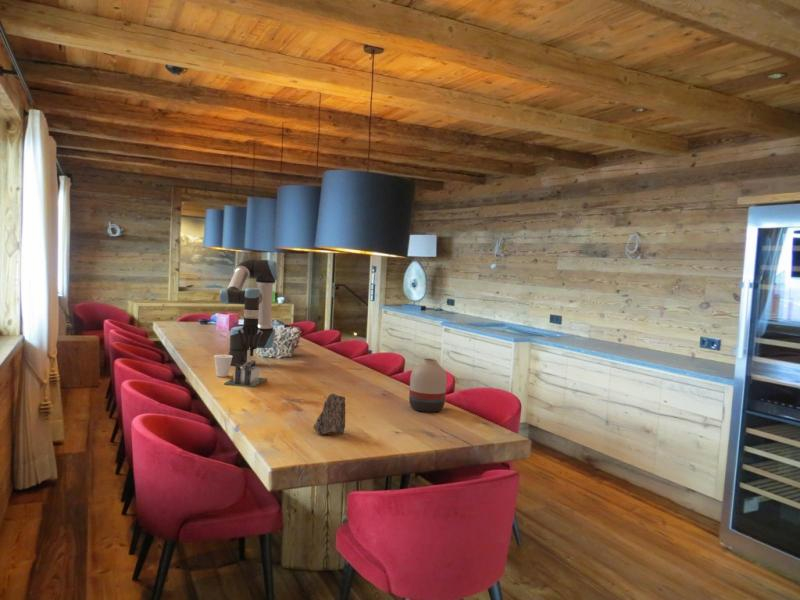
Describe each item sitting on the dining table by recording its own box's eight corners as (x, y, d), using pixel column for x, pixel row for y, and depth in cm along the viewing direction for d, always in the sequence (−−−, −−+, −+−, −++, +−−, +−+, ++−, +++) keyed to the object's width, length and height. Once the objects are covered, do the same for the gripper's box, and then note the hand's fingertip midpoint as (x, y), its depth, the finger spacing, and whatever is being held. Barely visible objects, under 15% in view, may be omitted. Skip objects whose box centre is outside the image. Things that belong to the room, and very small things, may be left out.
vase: (450, 409, 272) (454, 360, 270) (434, 416, 257) (437, 364, 256) (419, 403, 280) (422, 355, 279) (401, 409, 266) (405, 358, 264)
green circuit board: (238, 377, 312) (239, 358, 311) (266, 379, 310) (268, 361, 310) (224, 384, 292) (225, 364, 291) (254, 387, 291) (255, 367, 290)
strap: (248, 361, 308) (248, 359, 307) (254, 362, 307) (254, 360, 307) (238, 370, 293) (238, 367, 293) (245, 370, 293) (245, 368, 293)
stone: (350, 436, 219) (353, 398, 218) (317, 438, 213) (319, 399, 212) (340, 426, 230) (342, 390, 230) (308, 428, 225) (310, 391, 224)
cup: (228, 378, 307) (229, 358, 307) (210, 377, 308) (211, 356, 307) (234, 374, 317) (235, 355, 317) (216, 373, 317) (217, 354, 317)
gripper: (236, 317, 298) (234, 362, 299) (260, 319, 297) (258, 364, 298) (241, 316, 306) (239, 359, 307) (265, 317, 305) (263, 361, 306)
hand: (248, 361), depth 303 cm, fingers closed
